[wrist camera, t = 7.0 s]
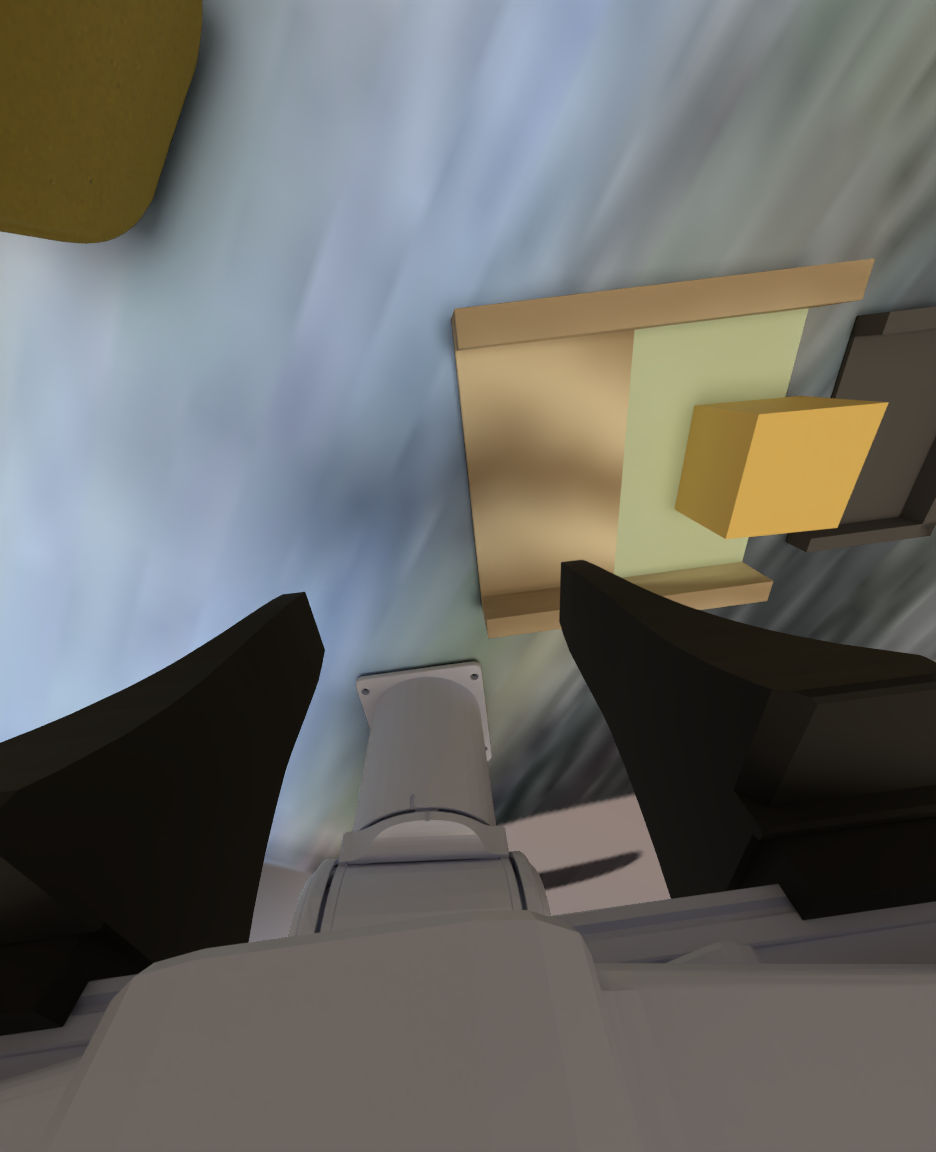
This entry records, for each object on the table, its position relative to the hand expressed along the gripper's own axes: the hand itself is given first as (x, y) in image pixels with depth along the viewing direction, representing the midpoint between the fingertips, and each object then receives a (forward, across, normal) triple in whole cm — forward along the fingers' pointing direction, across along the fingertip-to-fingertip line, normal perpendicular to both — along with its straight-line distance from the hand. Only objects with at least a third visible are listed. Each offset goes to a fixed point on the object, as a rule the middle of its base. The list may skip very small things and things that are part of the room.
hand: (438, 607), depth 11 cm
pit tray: (+10, -23, -1) cm, 25 cm away
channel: (+10, -9, -1) cm, 13 cm away
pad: (+10, -13, -1) cm, 16 cm away
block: (+9, -15, -1) cm, 17 cm away
